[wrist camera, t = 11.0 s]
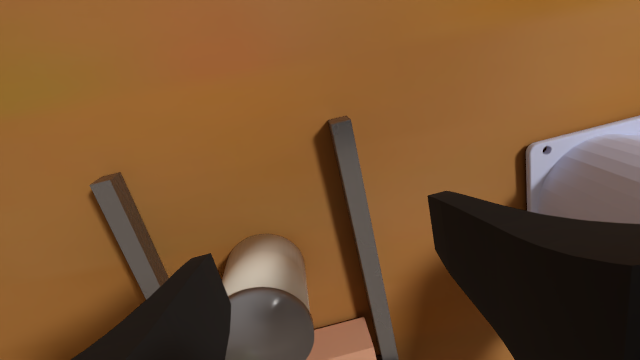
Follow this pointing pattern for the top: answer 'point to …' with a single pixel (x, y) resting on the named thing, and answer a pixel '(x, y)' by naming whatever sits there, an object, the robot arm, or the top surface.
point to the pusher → (343, 342)
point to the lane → (153, 274)
